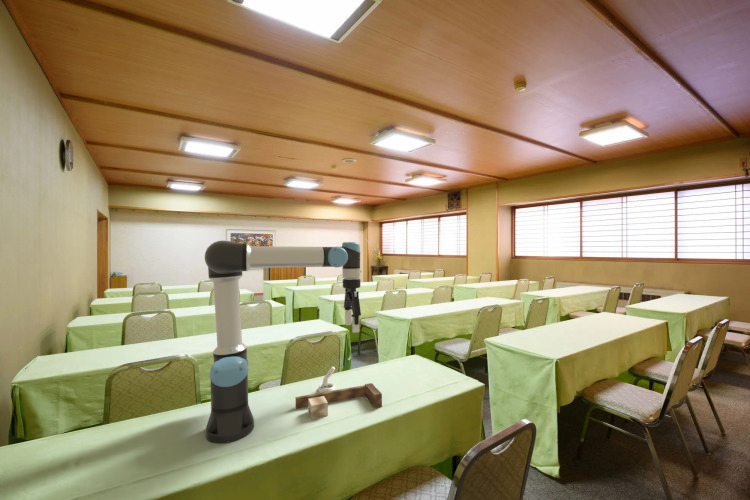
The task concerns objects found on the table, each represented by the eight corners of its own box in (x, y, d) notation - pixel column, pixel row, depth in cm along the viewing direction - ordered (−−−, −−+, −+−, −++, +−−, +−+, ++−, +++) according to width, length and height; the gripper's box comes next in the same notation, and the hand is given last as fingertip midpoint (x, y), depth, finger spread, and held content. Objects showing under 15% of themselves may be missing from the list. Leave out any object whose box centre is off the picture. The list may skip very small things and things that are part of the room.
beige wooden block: (311, 419, 123) (311, 405, 123) (308, 411, 128) (308, 398, 128) (327, 416, 125) (327, 402, 125) (324, 408, 131) (323, 395, 131)
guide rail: (300, 422, 120) (300, 408, 120) (295, 407, 132) (295, 394, 132) (384, 406, 132) (384, 393, 132) (372, 393, 144) (372, 381, 143)
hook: (347, 379, 146) (333, 372, 143) (330, 401, 146) (317, 395, 144) (343, 369, 153) (331, 363, 150) (328, 391, 153) (315, 384, 151)
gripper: (368, 280, 134) (368, 334, 134) (353, 275, 157) (353, 321, 158) (349, 281, 131) (350, 336, 132) (337, 276, 155) (337, 322, 155)
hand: (352, 328), depth 145 cm, fingers open, 13 cm apart
